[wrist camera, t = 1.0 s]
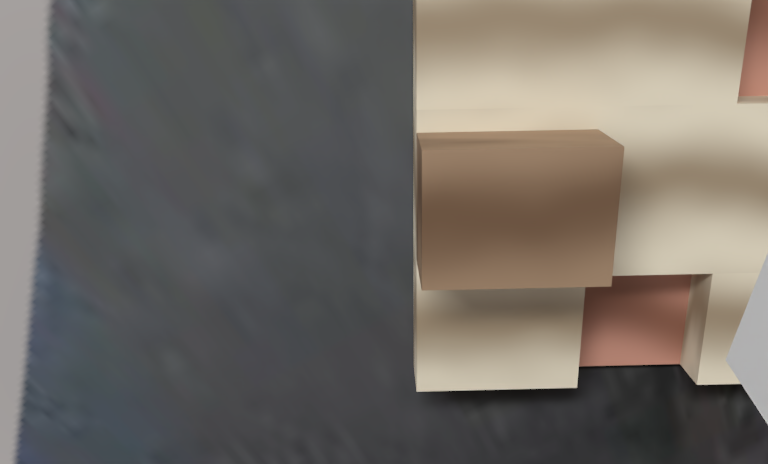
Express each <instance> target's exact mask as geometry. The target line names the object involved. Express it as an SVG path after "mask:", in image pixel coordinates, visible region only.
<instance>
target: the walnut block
mask: <svg viewBox="0 0 768 464" xmlns="http://www.w3.org/2000/svg"><path fill="white" fill-rule="evenodd" d="M623 158H624V146H623V145H621V144H620V143H618V142H617V141H615V140H614V139H612V138H611V137H609V136H608V135H606V134H605V133H603V132H602V131H600V130H599V129H589V130H536V131H483V132H429V133H417V266H418V271H419V277H420V283H421V289H422V291H428V290H474V289H520V288H565V287H611V285H612V274H613V264H614V253H615V242H616V232H617V221H618V211H619V200H620V190H621V179H622V168H623Z"/></svg>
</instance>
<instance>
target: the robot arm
mask: <svg viewBox="0 0 768 464" xmlns="http://www.w3.org/2000/svg"><path fill="white" fill-rule="evenodd" d="M726 362H727V363H728V365H729V366H730V368H731V369H732V371H733V372H734V374H735V375H736V377H737V378H738V380H739V381H740V383H741V384H742V386H743V388H744V389H745V391H746V392H747V394H748V395H749V397H750V398H751V400H752V401H753V403H754V404H755V406H756V407H757V409H758V410H759V412H760V413H761V415H762V417H763V418H764V420H765V421H766V423H767V424H768V253H767V256H766V258H765V261H764V263H763V266H762V269H761V271H760V274H759V276H758V279H757V281H756V284H755V286H754V289H753V291H752V294H751V296H750V299H749V301H748V304H747V307H746V309H745V312H744V314H743V317H742V319H741V322H740V324H739V327H738V329H737V332H736V334H735V337H734V339H733V342H732V345H731V347H730V350H729V352H728V355H727V357H726Z"/></svg>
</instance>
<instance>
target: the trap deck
mask: <svg viewBox="0 0 768 464" xmlns="http://www.w3.org/2000/svg"><path fill="white" fill-rule="evenodd" d="M589 129H599V130H600V131H602V132H603V133H605V134H606V135H608V136H609V137H611V138H612V139H614V140H615V141H617V142H618V143H620V144H621V145H623V146H624V158H623V168H622V179H621V190H620V200H619V211H618V221H617V232H616V242H615V253H614V264H613V274H612V285H611V287H565V288H520V289H474V290H428V291H422V289H421V283H420V277H419V271H418V266H417V133H429V132H483V131H536V130H589ZM767 253H768V0H413V258H414V373H415V382H416V390H417V392H424V391H466V390H508V389H550V388H577V383H578V371H579V366H618V365H661V364H680V365H681V366H682V367H683V369H684V370H685V371H686V372H687V374H688V375H689V376H690V377H691V378H692V380H693V381H694V382H695V383H696V385H718V384H741V383H740V381H739V380H738V378H737V377H736V375H735V374H734V372H733V371H732V369H731V368H730V366H729V365H728V363H727V362H726V357H727V355H728V352H729V350H730V347H731V345H732V342H733V339H734V337H735V334H736V332H737V329H738V327H739V324H740V322H741V319H742V317H743V314H744V312H745V309H746V307H747V304H748V301H749V299H750V296H751V294H752V291H753V289H754V286H755V284H756V281H757V279H758V276H759V274H760V271H761V269H762V266H763V263H764V261H765V258H766V256H767Z"/></svg>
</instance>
